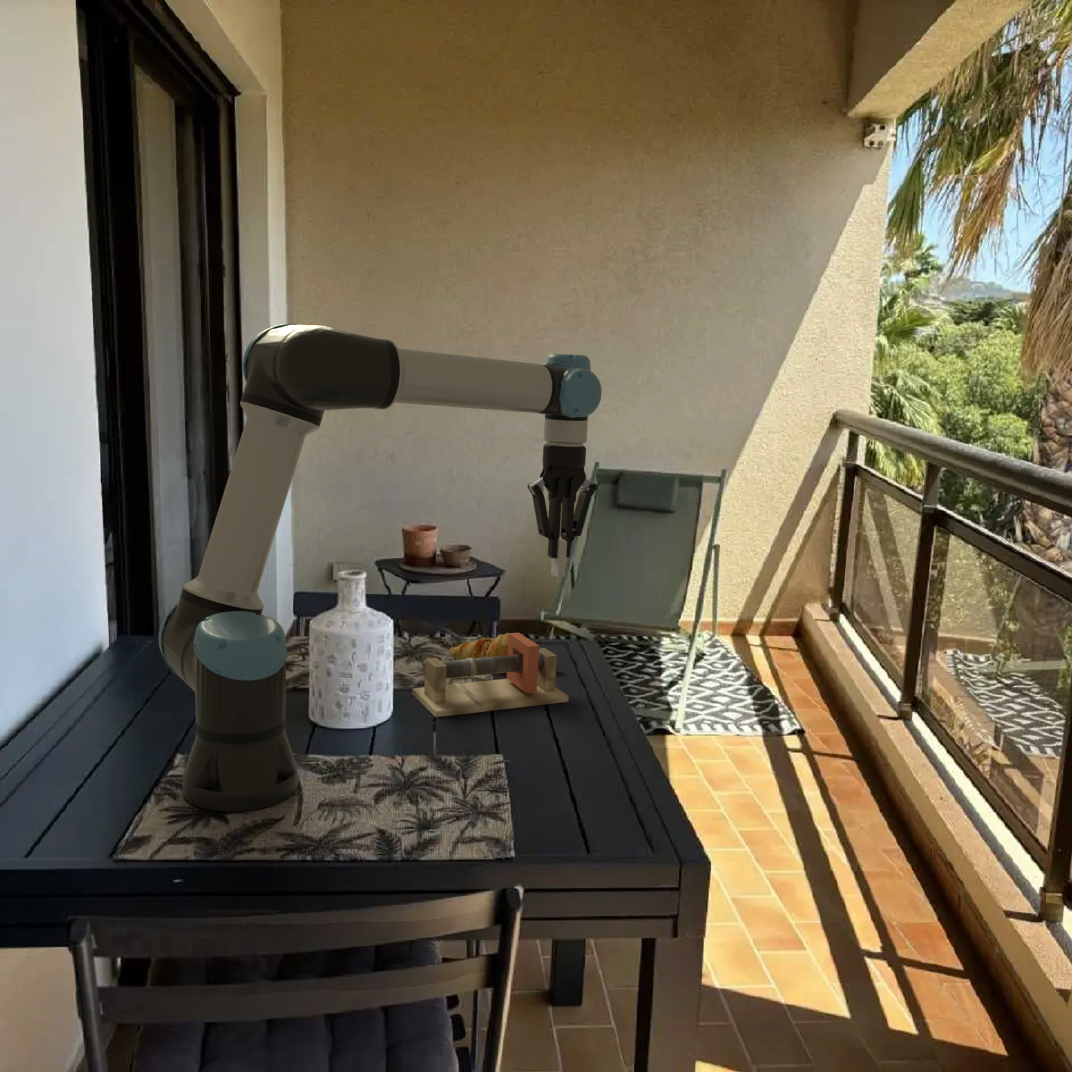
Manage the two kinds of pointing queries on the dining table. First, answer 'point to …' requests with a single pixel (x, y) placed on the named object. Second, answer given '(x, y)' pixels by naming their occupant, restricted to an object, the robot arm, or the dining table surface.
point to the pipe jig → (485, 685)
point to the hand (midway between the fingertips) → (557, 575)
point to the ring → (524, 662)
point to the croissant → (482, 648)
